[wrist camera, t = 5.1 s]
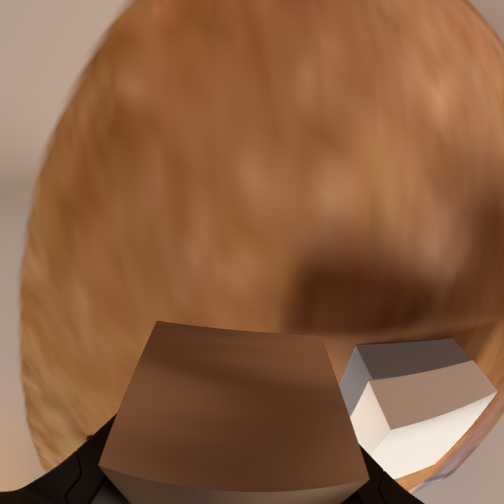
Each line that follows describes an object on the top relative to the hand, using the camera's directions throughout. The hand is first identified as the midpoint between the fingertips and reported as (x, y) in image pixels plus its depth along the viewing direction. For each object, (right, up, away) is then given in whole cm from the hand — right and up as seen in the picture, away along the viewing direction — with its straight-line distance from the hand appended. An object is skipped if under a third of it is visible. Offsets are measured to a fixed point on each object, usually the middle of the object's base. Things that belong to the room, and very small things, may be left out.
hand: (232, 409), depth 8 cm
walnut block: (0, 0, +1) cm, 1 cm away
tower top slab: (+11, -6, +7) cm, 14 cm away
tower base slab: (+11, -5, +10) cm, 16 cm away
